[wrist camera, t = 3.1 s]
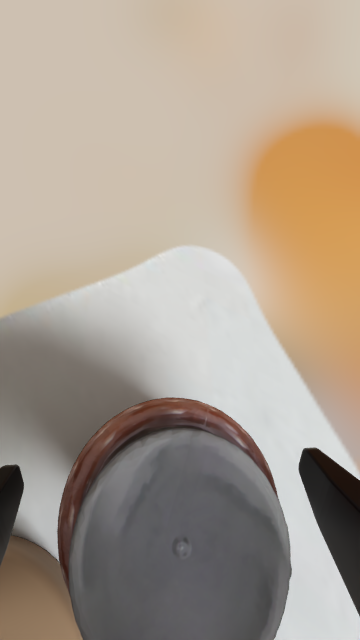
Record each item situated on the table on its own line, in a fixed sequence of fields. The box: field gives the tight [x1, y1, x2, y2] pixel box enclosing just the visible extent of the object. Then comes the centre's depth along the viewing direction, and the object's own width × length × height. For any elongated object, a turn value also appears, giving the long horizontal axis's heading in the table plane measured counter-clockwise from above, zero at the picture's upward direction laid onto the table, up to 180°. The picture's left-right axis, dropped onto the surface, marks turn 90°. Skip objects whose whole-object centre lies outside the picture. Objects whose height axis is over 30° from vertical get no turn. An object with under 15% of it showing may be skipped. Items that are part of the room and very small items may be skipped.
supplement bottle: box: [57, 398, 292, 640], centre depth 10 cm, size 6×6×11 cm
